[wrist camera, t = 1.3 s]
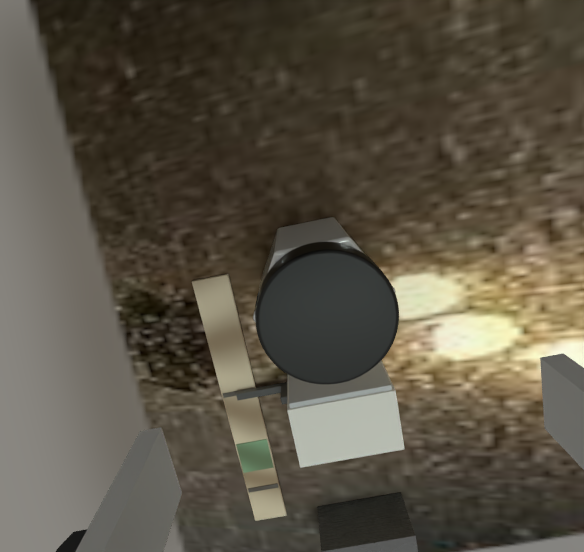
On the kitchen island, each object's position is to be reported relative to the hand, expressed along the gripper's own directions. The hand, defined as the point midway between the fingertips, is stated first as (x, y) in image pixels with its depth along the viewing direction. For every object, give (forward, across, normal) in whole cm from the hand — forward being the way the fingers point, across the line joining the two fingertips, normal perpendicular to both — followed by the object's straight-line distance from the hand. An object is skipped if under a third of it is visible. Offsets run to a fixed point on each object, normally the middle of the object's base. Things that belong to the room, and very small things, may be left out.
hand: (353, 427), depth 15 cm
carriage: (+22, -2, -11) cm, 24 cm away
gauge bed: (+22, -8, -11) cm, 26 cm away
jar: (+22, 0, 0) cm, 22 cm away
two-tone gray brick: (+22, 0, -24) cm, 32 cm away
